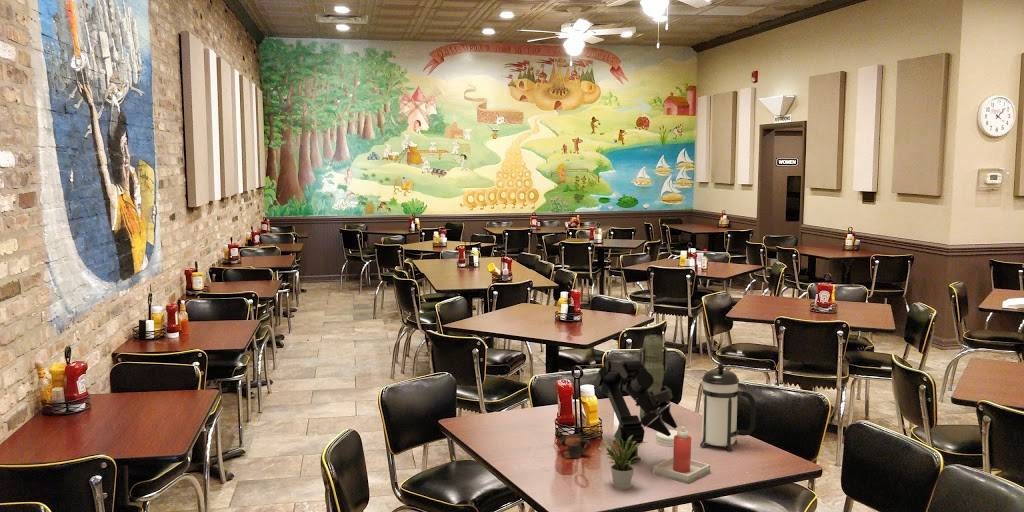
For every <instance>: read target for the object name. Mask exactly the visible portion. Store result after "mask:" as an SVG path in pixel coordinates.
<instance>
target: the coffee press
mask: <svg viewBox="0 0 1024 512" xmlns="http://www.w3.org/2000/svg"><path fill="white" fill-rule="evenodd" d="M739 382H740V379H739V377H738V376H737V374H736V373H735V372H733V371H730V370H727V369H725V366H724V364H722V363H721V364H718V365H717V369H711V370H708V371H706V372H704V374H703V376H702V377H701V380H700V381H699V382H698V384H699V385H701V386H702V418H701V419H702V420H701V421H702V422H701V423H702V425H701V438H702V441H701V442H700V445H699V446H700V447H701V448H703V449H705V448H706V447H707V446H708V445H711V446H716V447H724V448H725V449H726V451H727V452H733V447H732V445H736V444H737V443H738V440H737V436H741V437H745V436H749V435H751V434H752V433H753V432H754V430H755V428H756V419H757V418H756V415H757V414H756V413H757V412H756V411H757V405H756V399H755V397H754V396H753V394H751V393H750V392H747V391H746V390H742V391H741V390H739V389H738V388H739ZM741 396H742V397H743V398H744V397H745V398H747V400H748V401H749V403H750V405H749V406H750V413H749V415H750V416H749V427H748V429H747V430H741V429H740V430H739V429H738V428H737V423H738V421H737V420H738V419H737V416H738V397H741Z"/></svg>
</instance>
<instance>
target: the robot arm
mask: <svg viewBox="0 0 1024 512" xmlns="http://www.w3.org/2000/svg"><path fill="white" fill-rule="evenodd" d="M642 362H643V361H642ZM642 362H641V361H640V360H638V359H635V360H621V359H607V360H606V361H605V363H604V365H603V366H602V367H600V369H598V370H597V371H598V372H597V374H596V378H595V381H596V382H595V383H596V386H597V387H598V389H599V390H600V392H601V393H603V394H605V395H606V396H607V397H608V400H609V402H610V404H611V406H612V410H613V411H614V413H615V416H616V418H617V421H618V422H619V423H618V426H617V430H616V432H615V433H614V434H613V436H614V437H615V438H617V439H618V440H619V441H620V443H621V446H622V440H623V444H624V450H625V444H626V442H627V440H628V438H629V437H630V436H632V435H633V436H632V438H631V441H630V443H629V445H630V446H629V445H628V447H629V448H628V449H627V452H628V451H629V450H630V447H631V445H632V442H635V441H636V442H635V444H634V446H635V445H637V444H639V443H641V442H644V439H645V438H644V437H645V429H644V428H647V429H651V430H653V431H656V432H660V433H662V434H664V435H666V436H670V435H671V433H670V432H669V430H670V429H668V427H667V426H666V424H667V425H669V426H670V427H671V428H673V429H677V428H678V424H677V423H676V420H675V419H674V417H673V414H672V413H671V406H672V405H671V400H672V398H674V396H673V393H672V392H673V390H672V389H671V388H670V387H668V386H667V385H662V387H661V390H660V391H659V392H658V393H654V392H653V391H650V392H649V391H648V389H649V388H650V387H651V386H652V385H653V382H654V379H653V377H652V375H651V374H650V373H648V371H647V370H646V368H645V367H644V365H643V364H642ZM623 379H629V380H624V381H623V383H622V380H623ZM621 384H622V390H621V389H620V388H621ZM621 391H623V392H626V393H627V394H628V395H629V397H631V398H632V400H633V401H634V402H635V404H634V405H635V406H636V407H637V408H638V407H639V408H640V407H641V409H642V410H643V411H644V412H645V413H644V416H643V417H642V418H641V422H640V416H638V415H637V414H636V415H634V414H633V415H632V413H631V411H630V409H629V407H628V405H627V402H626V400H625V397H624V396H623V393H622V392H621ZM648 424H649V425H648ZM647 425H648V426H647ZM614 437H613V438H614ZM621 438H622V440H621ZM614 442H615V443H616V444H617V442H616V440H615V439H614ZM634 446H633V447H634ZM633 447H632V448H633ZM633 449H634V448H633ZM633 449H632V450H633ZM638 449H639V446H638V447H637V449H636V450H635V451H634V452H633V453H632V454H631V455H630V457H629V459H628V461H630V459H631V458H632V457H634V456H638V455H639V454H638V451H639V450H638ZM632 450H631V452H632ZM618 454H619V457H620V453H618ZM620 459H621V457H620ZM633 460H638V461H636V462H632V463H630V464H629V465H631V464H632V465H633V464H634V463H637V462H639V461H641V460H642V458H641V457H640V458H635V459H633Z"/></svg>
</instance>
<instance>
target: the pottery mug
mask: <svg viewBox="0 0 1024 512" xmlns="http://www.w3.org/2000/svg"><path fill="white" fill-rule="evenodd" d="M585 445H586V446H585ZM559 446H562V447H567V449H568V451H564V452H563V455H564V459H565V460H567V459H581V456H582V455H585V453H587V452H589V451H590V448H591V447H592V444H591V441H590V440H589V439H587V438H586V439H581V435H579V434H568V435H563V436H560V437H559V442H558V444H557V447H559Z"/></svg>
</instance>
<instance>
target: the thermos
mask: <svg viewBox="0 0 1024 512" xmlns="http://www.w3.org/2000/svg"><path fill="white" fill-rule="evenodd" d="M637 360H640V361H641V362H642V364H643V365H644V367H645V368H646V370H647V371H648V373H650V374H651V375H652V377H653V379H654V382H653V385H652V386H651V387H650V388H649V389H648V391H649V392H650V391H653V392H654V393H658V392H659V391H660V390H661V387H663V382H664V376H665V373H667V369H668V349H667V348H666V346H664V345H663V339H662V336H660V335H659V334H647V335H645V336H644V339H643V343H642V347H640V348H639V349H638V351H637ZM644 413H645V412H644V411H643V410H642V409H641V407H640V406H639V420H640V422H641V418H642V417H643V416H644ZM648 425H649V424H648ZM648 425H647V426H648ZM647 426H646V427H647Z"/></svg>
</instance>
